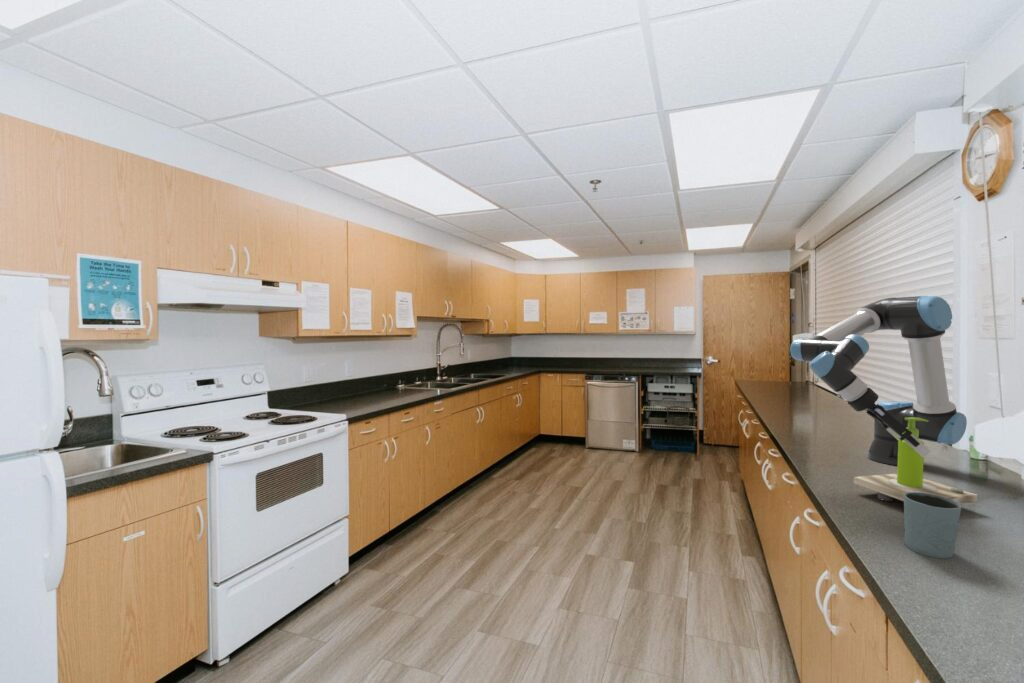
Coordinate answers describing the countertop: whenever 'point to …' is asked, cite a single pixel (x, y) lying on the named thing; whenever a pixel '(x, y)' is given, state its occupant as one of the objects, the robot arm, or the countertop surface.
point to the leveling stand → (911, 488)
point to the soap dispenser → (910, 459)
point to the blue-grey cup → (930, 524)
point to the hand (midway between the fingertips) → (916, 448)
